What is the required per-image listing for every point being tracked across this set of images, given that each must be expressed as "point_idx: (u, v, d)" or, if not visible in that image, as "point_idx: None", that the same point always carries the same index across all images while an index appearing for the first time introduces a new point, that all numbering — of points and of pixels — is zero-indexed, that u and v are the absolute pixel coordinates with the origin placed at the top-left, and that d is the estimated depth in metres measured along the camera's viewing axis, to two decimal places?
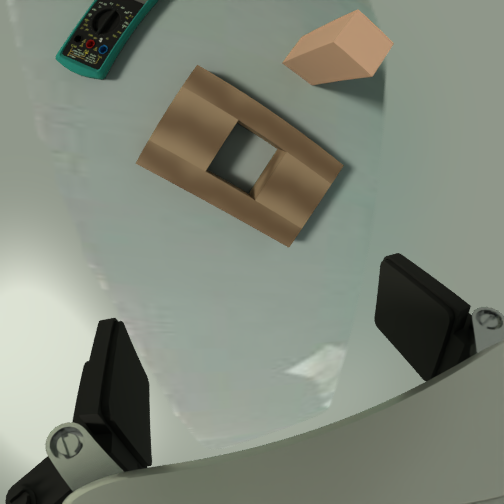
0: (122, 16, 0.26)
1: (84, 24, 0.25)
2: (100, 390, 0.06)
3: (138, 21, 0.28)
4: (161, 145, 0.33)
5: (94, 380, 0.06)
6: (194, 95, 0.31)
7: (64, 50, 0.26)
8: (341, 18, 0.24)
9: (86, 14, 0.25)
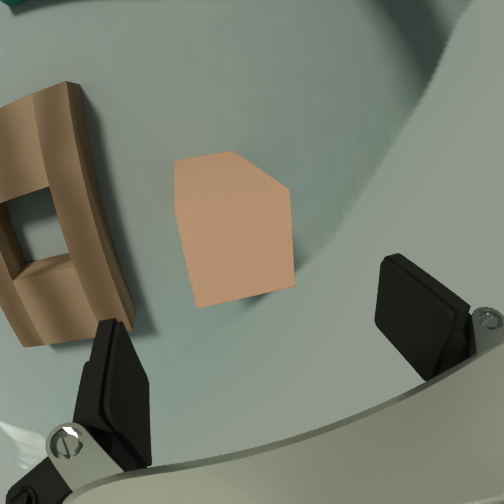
0: None
1: None
2: (101, 390, 0.06)
3: None
4: None
5: (94, 380, 0.06)
6: (32, 116, 0.17)
7: None
8: (262, 178, 0.16)
9: None
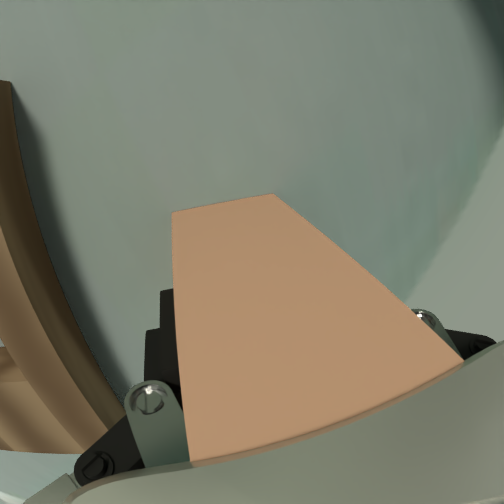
0: None
1: None
2: None
3: None
4: None
5: (170, 340, 0.08)
6: None
7: None
8: (415, 337, 0.05)
9: None
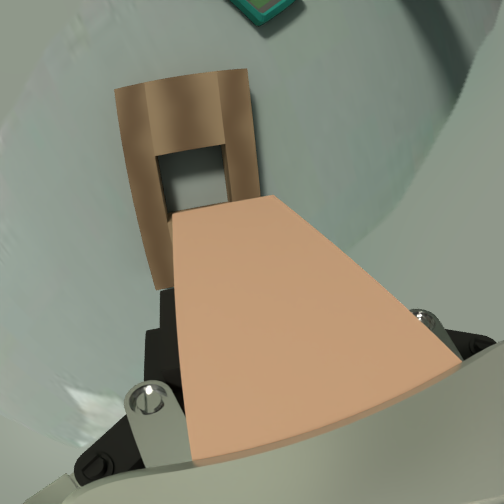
0: None
1: None
2: None
3: None
4: (147, 97, 0.26)
5: (170, 340, 0.08)
6: (216, 88, 0.27)
7: None
8: (415, 339, 0.05)
9: None
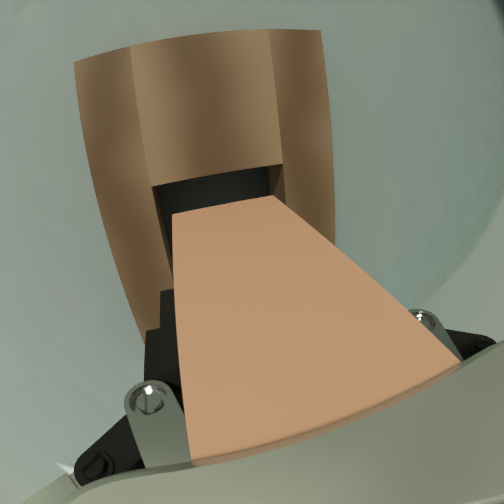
0: None
1: None
2: None
3: None
4: (135, 74, 0.13)
5: (170, 339, 0.08)
6: (268, 59, 0.14)
7: None
8: (415, 340, 0.05)
9: None
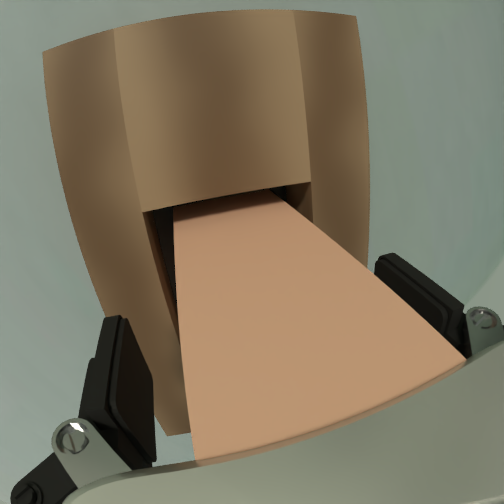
0: None
1: None
2: (106, 385, 0.06)
3: None
4: (120, 64, 0.09)
5: (100, 376, 0.07)
6: (293, 47, 0.10)
7: None
8: (392, 310, 0.06)
9: None
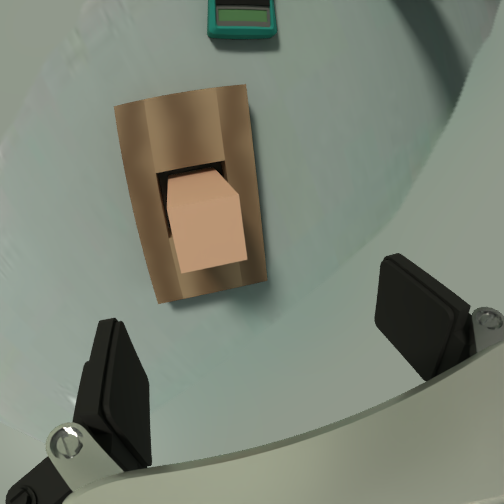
0: None
1: None
2: (100, 390, 0.06)
3: None
4: (147, 114, 0.27)
5: (94, 380, 0.06)
6: (215, 104, 0.28)
7: None
8: (225, 187, 0.24)
9: None
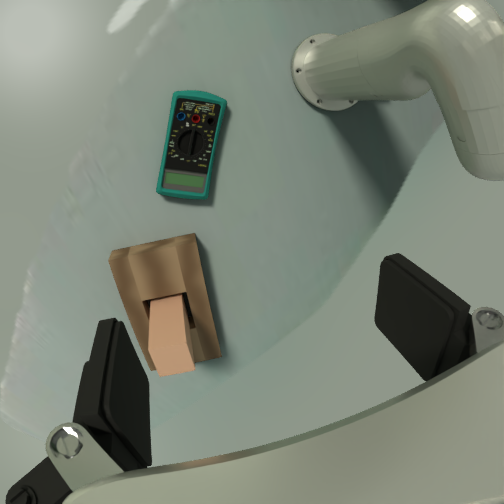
0: (178, 150, 0.39)
1: (210, 135, 0.40)
2: (100, 390, 0.06)
3: (163, 151, 0.40)
4: (131, 266, 0.43)
5: (94, 380, 0.06)
6: (176, 257, 0.44)
7: (219, 108, 0.38)
8: (181, 330, 0.40)
9: (213, 145, 0.40)
